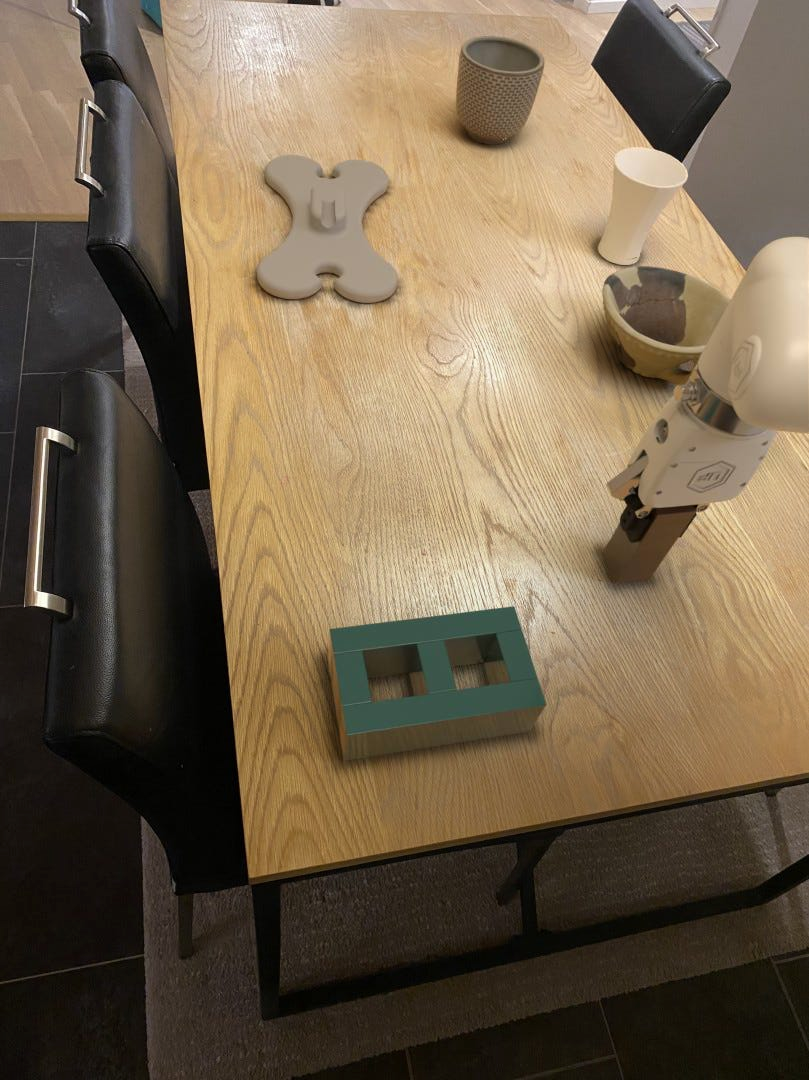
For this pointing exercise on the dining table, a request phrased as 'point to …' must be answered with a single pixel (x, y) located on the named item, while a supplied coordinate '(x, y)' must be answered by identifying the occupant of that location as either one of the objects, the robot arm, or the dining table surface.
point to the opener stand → (432, 682)
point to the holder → (327, 231)
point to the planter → (496, 86)
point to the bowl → (660, 319)
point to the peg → (646, 544)
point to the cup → (638, 200)
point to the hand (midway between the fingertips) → (650, 527)
